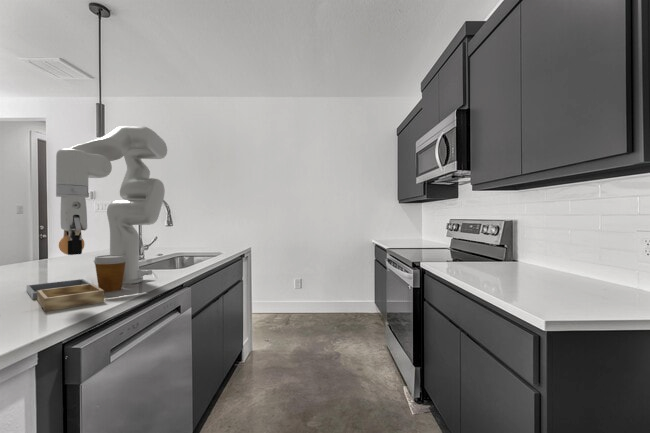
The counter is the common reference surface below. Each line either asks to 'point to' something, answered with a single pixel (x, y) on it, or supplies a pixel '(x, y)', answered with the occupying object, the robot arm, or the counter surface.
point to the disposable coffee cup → (110, 271)
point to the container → (52, 286)
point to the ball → (66, 244)
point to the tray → (69, 296)
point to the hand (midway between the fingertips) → (72, 252)
